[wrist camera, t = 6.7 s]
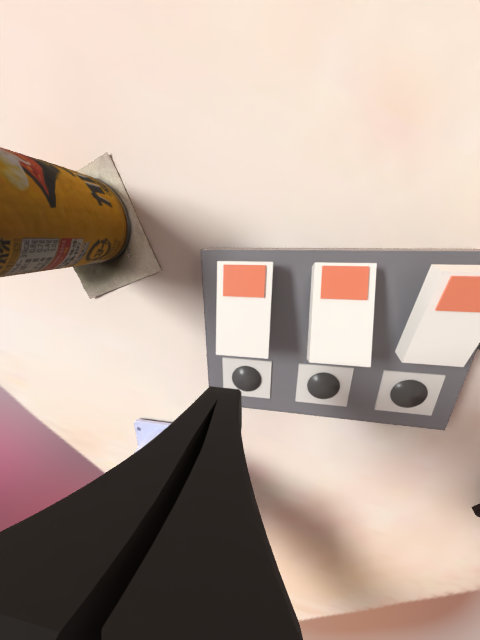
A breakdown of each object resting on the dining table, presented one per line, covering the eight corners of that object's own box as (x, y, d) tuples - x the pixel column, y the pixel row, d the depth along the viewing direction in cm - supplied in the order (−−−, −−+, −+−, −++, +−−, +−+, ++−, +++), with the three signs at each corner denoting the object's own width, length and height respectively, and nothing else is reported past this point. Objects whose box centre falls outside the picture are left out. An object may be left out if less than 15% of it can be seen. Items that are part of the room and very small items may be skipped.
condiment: (109, 153, 16) (-304, -50, 5) (162, 270, 18) (-27, 324, 7) (36, 196, 18) (-380, 128, 6) (93, 297, 20) (-143, 375, 9)
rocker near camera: (452, 355, 14) (464, 368, 13) (394, 351, 14) (402, 363, 13) (506, 265, 11) (527, 273, 10) (431, 264, 11) (444, 272, 10)
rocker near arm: (268, 354, 14) (268, 359, 13) (219, 350, 15) (215, 355, 14) (273, 263, 14) (272, 261, 13) (221, 262, 14) (216, 260, 13)
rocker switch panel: (550, 418, 17) (597, 449, 14) (217, 385, 21) (209, 405, 18) (650, 249, 13) (739, 252, 10) (211, 247, 17) (199, 249, 14)
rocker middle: (363, 363, 13) (371, 367, 12) (306, 359, 14) (309, 362, 13) (369, 267, 13) (377, 262, 12) (311, 266, 14) (315, 261, 13)
